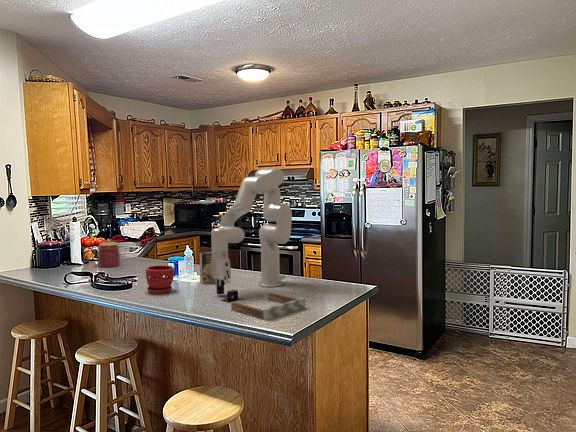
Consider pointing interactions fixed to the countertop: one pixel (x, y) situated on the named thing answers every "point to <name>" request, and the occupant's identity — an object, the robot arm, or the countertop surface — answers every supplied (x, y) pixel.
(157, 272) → the plant pot
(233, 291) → the black piece
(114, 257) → the canister
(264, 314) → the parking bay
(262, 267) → the robot arm
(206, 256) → the coffee box
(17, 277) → the countertop surface
